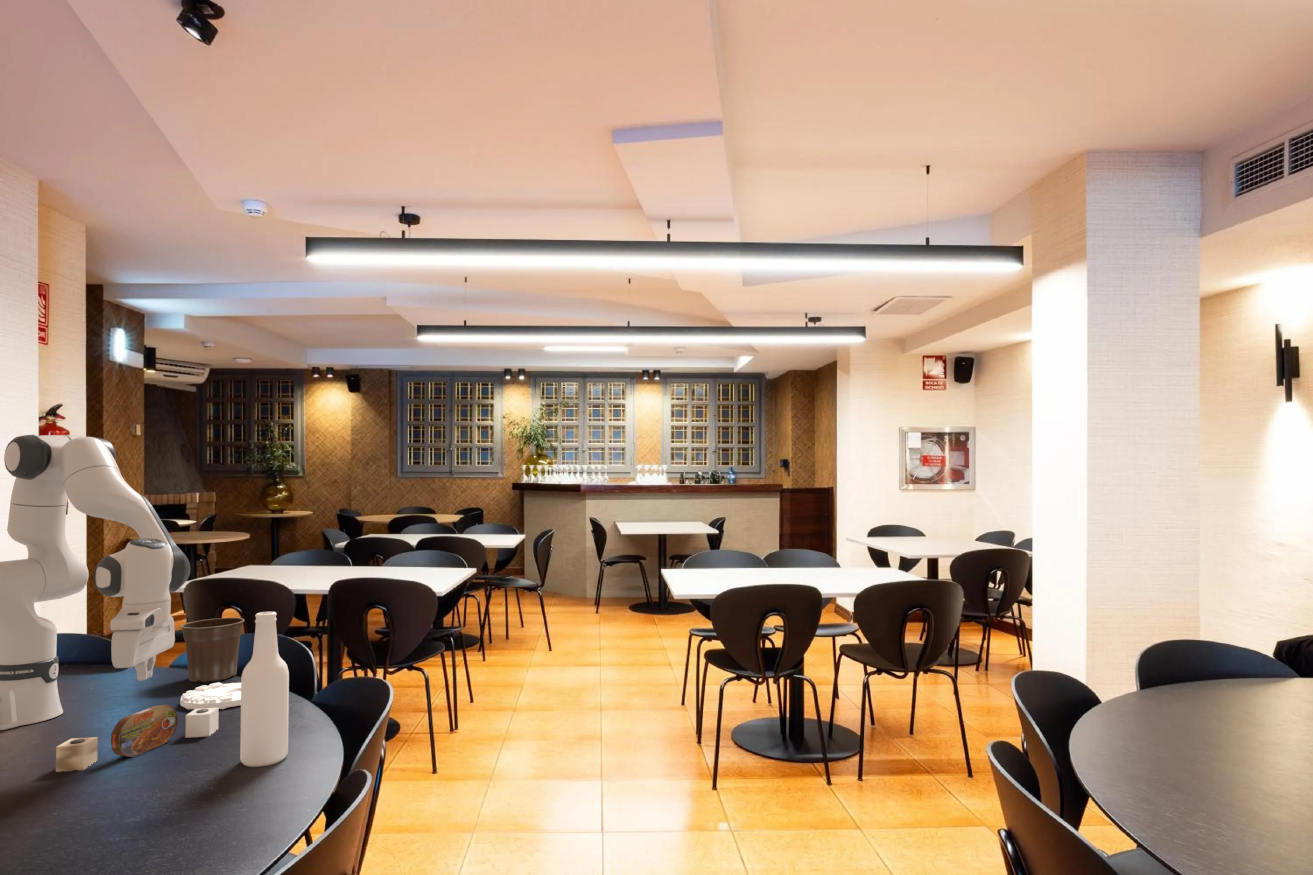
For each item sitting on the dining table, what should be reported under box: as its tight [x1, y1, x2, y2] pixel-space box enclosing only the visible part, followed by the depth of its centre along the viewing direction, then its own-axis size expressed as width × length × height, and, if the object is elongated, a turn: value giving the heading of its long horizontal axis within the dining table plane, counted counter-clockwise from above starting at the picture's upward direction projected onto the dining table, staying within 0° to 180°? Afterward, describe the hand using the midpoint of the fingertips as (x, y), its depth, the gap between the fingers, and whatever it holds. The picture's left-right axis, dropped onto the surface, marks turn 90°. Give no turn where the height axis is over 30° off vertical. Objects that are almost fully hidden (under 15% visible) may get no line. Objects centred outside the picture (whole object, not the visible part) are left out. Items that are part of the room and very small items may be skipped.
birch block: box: [55, 736, 99, 773], centre depth 157 cm, size 5×5×5 cm
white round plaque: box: [179, 681, 241, 711], centre depth 203 cm, size 20×20×3 cm
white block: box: [185, 708, 220, 739], centre depth 177 cm, size 5×5×5 cm
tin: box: [110, 704, 179, 758], centre depth 166 cm, size 15×3×8 cm, turn 168°
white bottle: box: [239, 611, 290, 768], centre depth 160 cm, size 9×9×30 cm
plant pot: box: [180, 617, 245, 683], centre depth 227 cm, size 16×16×16 cm
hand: (144, 678), depth 167 cm, fingers closed
